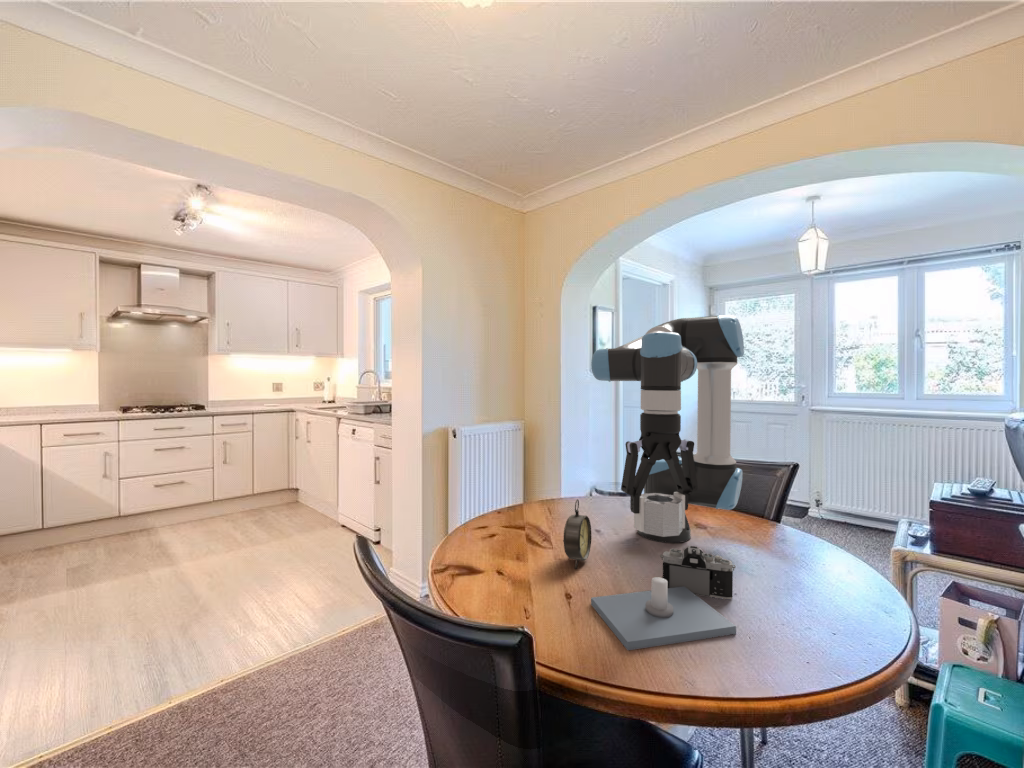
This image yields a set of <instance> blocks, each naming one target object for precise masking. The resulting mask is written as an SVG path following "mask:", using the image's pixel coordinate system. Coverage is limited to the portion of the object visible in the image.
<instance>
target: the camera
mask: <svg viewBox="0 0 1024 768" xmlns="http://www.w3.org/2000/svg"><path fill="white" fill-rule="evenodd" d="M659 556H660V558H661V561H662V578H664V579H666V580H667V581H668V588H675V587H683V586H685V587H686V588H687V589H688V590H690V591H691V592H692V593H694V594H695V595H696V596H699V597H701V596H702V597H706V596H708V597H707V598H712V597H715V599H718V598H723V599H722V600H725V599H732V600H733V596H734V595H733V591H734V590H733V589H734V588H733V585H734V584H733V583H734V582H733V580H734V575H733V571H735V569H736V564H733V562H732V560H729V559H726V558H723V557H722V556H721V555H713V554H711V553H705V552H704V550H702V549H701V548H700V547H698V546H694V545H690V546H689V545H688V546H687V547H686V548H684V549H683V550H681V549H679V548H670V549H669V551H663V554H660V555H659Z"/></svg>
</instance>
